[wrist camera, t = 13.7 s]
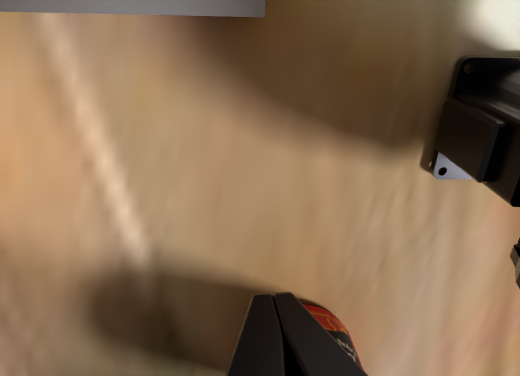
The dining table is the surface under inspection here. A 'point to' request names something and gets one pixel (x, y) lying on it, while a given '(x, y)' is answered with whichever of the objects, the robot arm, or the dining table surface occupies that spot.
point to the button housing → (141, 7)
